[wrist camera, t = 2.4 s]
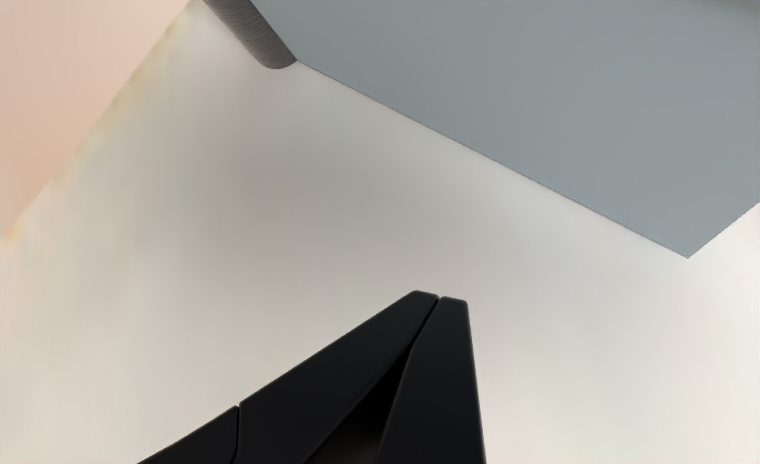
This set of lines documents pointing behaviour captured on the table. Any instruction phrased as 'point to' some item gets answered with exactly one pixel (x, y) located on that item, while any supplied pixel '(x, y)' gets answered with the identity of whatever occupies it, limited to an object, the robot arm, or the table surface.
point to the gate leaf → (567, 94)
